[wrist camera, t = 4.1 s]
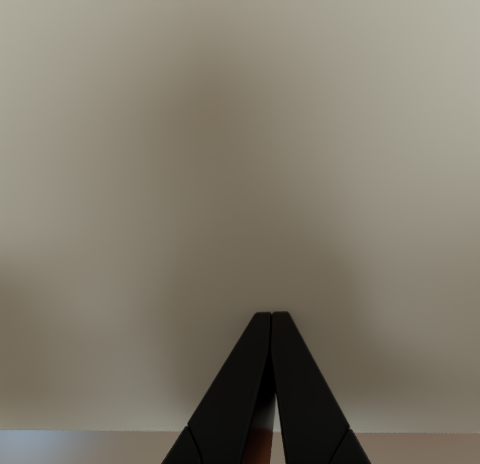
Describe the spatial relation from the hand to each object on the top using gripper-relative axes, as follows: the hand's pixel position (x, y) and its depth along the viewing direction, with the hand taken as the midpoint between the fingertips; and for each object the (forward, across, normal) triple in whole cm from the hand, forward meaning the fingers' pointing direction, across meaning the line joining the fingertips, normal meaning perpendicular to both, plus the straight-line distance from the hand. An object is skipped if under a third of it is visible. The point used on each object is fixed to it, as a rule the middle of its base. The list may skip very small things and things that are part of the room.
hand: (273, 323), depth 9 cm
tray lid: (+3, 0, -3) cm, 4 cm away
